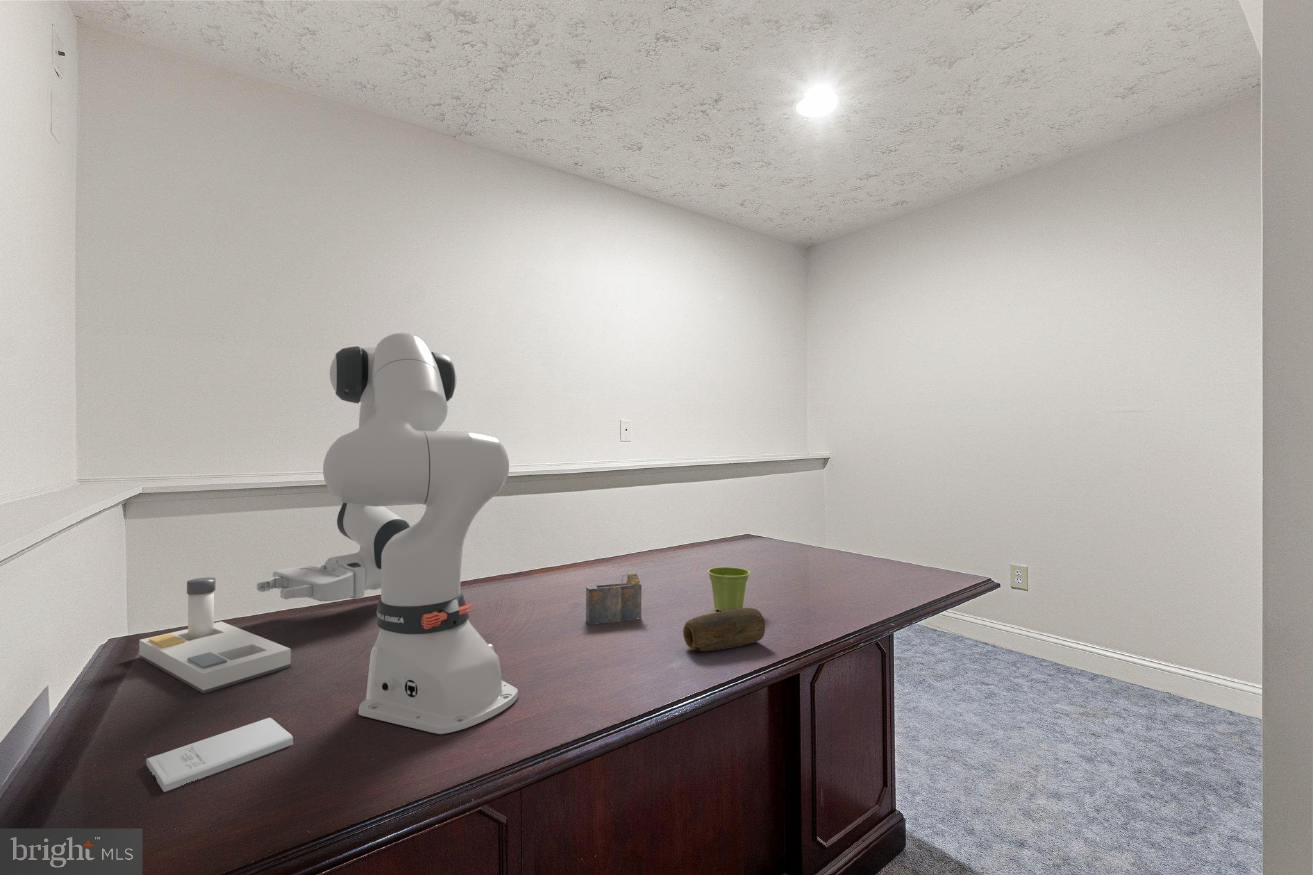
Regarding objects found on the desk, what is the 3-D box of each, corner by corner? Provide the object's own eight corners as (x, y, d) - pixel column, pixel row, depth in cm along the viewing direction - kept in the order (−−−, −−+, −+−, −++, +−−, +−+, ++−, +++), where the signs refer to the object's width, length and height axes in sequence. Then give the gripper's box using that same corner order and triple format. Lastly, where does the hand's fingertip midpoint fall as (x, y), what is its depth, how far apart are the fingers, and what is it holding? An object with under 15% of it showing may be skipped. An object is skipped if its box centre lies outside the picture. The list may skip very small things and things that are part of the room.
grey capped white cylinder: (219, 646, 103) (219, 579, 103) (191, 653, 100) (192, 584, 100) (209, 642, 105) (209, 576, 105) (182, 648, 102) (182, 580, 102)
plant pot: (707, 603, 134) (707, 565, 134) (748, 604, 133) (748, 567, 133) (707, 615, 124) (707, 575, 124) (751, 617, 123) (751, 576, 123)
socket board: (290, 666, 95) (290, 646, 95) (203, 693, 85) (203, 670, 85) (221, 637, 109) (221, 619, 109) (139, 657, 99) (139, 637, 99)
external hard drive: (293, 749, 71) (163, 797, 62) (269, 728, 77) (146, 770, 67) (293, 736, 71) (163, 782, 62) (269, 716, 77) (146, 755, 67)
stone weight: (745, 635, 113) (745, 600, 113) (768, 646, 106) (768, 610, 106) (678, 647, 106) (679, 611, 106) (699, 660, 99) (699, 622, 99)
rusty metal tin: (636, 616, 125) (637, 571, 125) (641, 620, 122) (641, 574, 122) (585, 622, 121) (585, 575, 121) (589, 626, 118) (589, 578, 118)
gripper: (315, 556, 129) (245, 567, 117) (368, 567, 118) (296, 581, 107) (315, 584, 129) (244, 598, 117) (368, 598, 118) (296, 616, 107)
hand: (269, 590), depth 112 cm, fingers open, 8 cm apart
